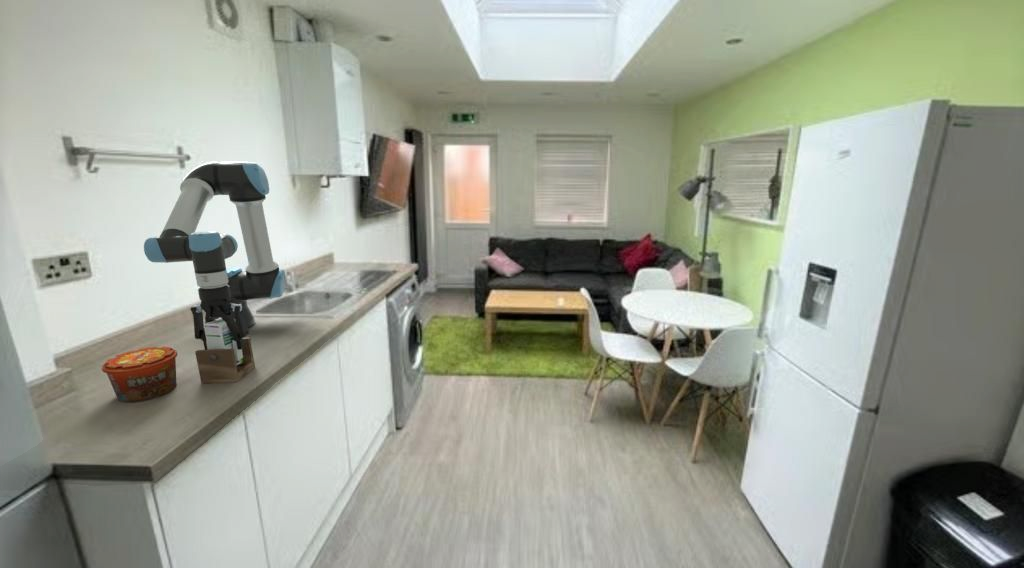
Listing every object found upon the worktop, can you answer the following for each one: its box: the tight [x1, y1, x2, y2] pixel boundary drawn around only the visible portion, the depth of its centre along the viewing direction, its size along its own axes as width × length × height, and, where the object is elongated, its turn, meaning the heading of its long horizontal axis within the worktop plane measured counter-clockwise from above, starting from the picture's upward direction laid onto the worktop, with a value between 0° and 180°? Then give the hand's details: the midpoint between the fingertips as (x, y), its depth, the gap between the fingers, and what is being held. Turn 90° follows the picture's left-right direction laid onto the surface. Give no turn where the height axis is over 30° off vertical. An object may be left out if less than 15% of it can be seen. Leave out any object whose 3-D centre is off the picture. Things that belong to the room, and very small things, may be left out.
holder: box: [194, 336, 256, 384], centre depth 130 cm, size 12×10×10 cm
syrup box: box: [203, 318, 243, 365], centre depth 129 cm, size 6×6×14 cm
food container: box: [101, 346, 178, 403], centre depth 120 cm, size 16×16×11 cm
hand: (226, 359), depth 130 cm, fingers closed on syrup box, 7 cm apart
